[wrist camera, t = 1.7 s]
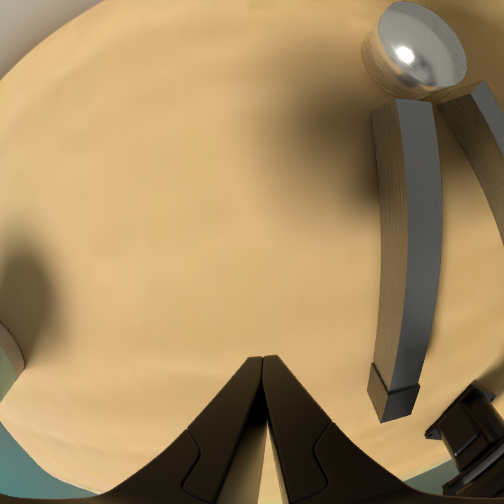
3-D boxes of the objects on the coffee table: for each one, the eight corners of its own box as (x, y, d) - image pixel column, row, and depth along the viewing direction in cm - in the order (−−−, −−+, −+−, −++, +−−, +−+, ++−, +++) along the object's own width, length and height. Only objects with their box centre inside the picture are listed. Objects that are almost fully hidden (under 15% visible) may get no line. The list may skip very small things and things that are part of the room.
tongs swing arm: (347, 23, 10) (365, -8, 7) (421, 36, 9) (449, 14, 6) (366, 390, 15) (381, 425, 12) (427, 374, 15) (447, 403, 12)
